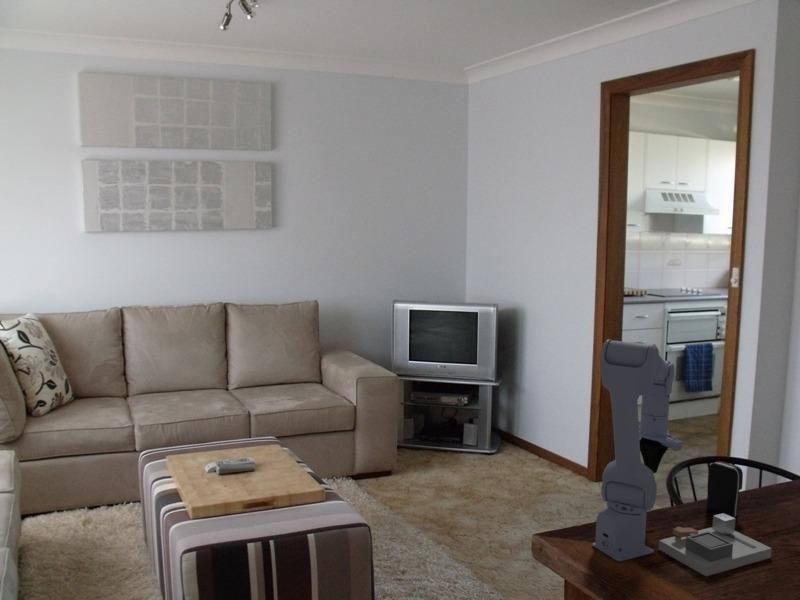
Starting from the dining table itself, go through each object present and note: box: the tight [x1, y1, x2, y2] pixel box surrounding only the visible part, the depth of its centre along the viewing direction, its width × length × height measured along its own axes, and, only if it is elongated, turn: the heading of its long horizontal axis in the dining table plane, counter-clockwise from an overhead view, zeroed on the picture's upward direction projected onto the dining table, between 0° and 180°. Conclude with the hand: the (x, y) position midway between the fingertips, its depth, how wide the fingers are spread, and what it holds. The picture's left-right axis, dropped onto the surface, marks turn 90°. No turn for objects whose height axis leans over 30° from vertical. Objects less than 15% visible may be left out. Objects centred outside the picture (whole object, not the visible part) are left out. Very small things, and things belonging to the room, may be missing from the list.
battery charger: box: [706, 460, 744, 518], centre depth 170 cm, size 7×4×11 cm, turn 38°
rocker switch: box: [672, 527, 699, 537], centre depth 151 cm, size 5×2×1 cm, turn 116°
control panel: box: [658, 526, 772, 577], centre depth 149 cm, size 18×12×4 cm, turn 116°
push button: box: [692, 534, 727, 548], centre depth 146 cm, size 4×4×2 cm
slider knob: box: [712, 513, 736, 535], centre depth 154 cm, size 3×3×3 cm
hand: (651, 472), depth 166 cm, fingers closed
